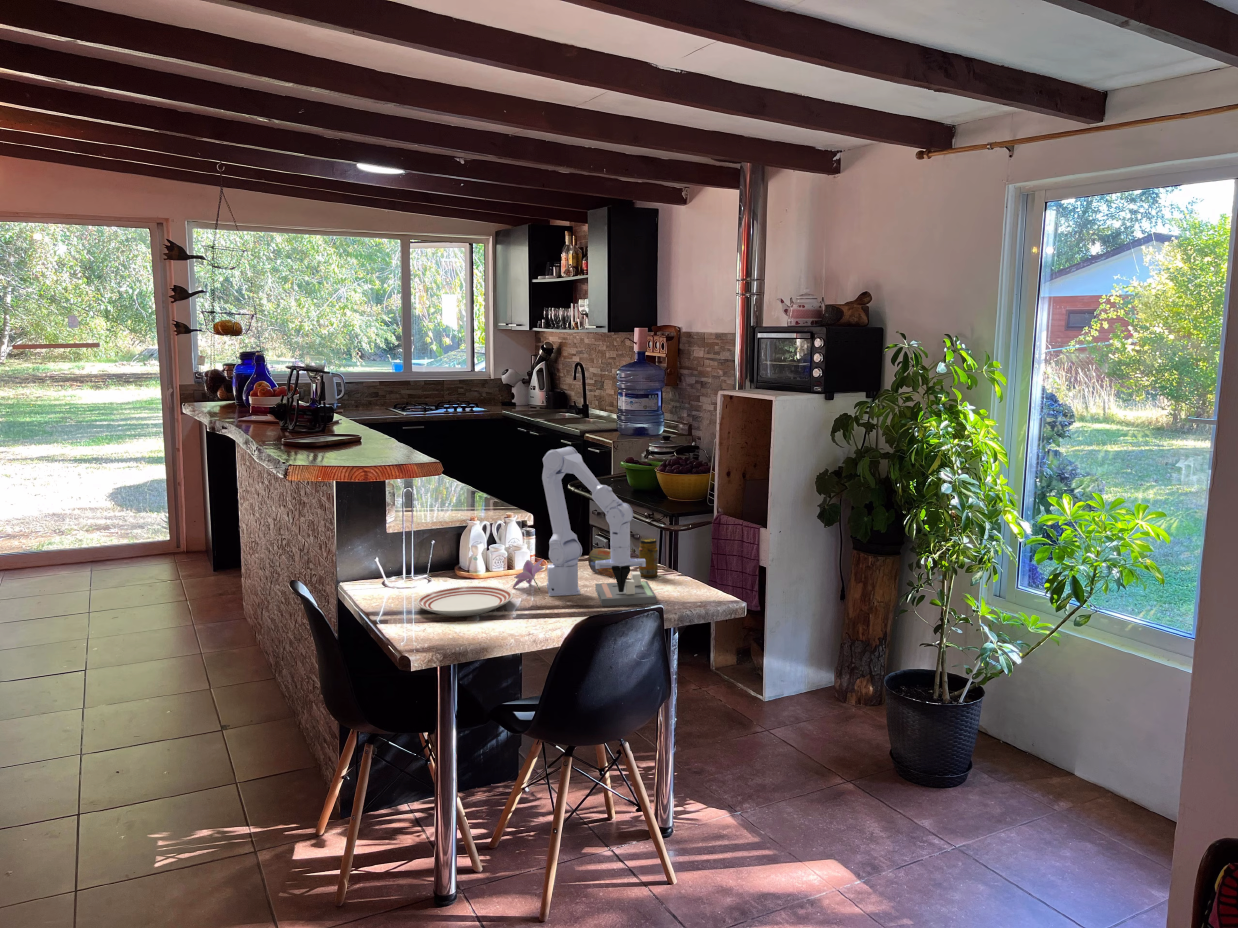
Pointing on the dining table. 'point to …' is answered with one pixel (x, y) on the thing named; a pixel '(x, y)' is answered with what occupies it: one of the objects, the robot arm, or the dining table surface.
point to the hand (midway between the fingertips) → (620, 591)
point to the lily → (528, 572)
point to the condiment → (649, 559)
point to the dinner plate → (464, 600)
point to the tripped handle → (630, 587)
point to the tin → (598, 556)
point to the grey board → (624, 594)
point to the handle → (636, 578)
